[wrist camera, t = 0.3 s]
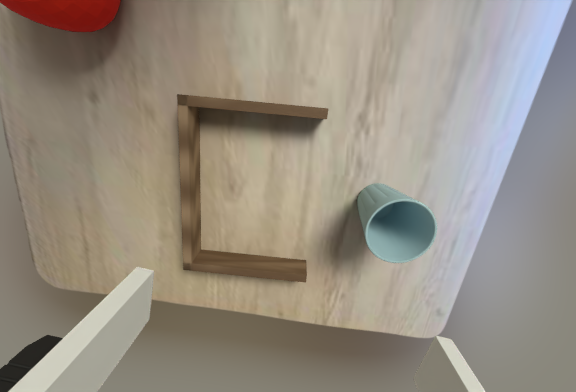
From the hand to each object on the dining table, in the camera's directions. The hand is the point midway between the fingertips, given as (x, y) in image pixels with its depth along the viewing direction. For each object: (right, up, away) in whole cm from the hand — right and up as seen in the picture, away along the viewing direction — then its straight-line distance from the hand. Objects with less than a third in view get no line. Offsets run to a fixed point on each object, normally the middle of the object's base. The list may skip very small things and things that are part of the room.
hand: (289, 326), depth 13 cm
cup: (+13, +5, +27) cm, 31 cm away
